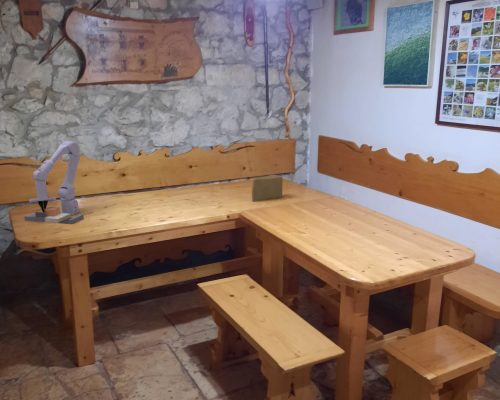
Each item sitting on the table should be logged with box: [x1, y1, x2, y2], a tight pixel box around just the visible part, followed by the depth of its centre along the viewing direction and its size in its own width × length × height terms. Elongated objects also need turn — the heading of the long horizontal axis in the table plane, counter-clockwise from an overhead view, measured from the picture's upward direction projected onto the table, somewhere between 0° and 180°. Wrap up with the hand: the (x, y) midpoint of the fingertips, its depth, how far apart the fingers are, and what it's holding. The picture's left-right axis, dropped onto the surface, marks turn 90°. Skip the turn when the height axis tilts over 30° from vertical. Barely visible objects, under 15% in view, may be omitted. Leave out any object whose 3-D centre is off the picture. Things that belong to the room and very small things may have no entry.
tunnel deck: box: [23, 206, 85, 225], centre depth 294 cm, size 32×11×6 cm, turn 74°
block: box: [45, 206, 61, 216], centre depth 295 cm, size 6×6×4 cm
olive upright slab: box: [251, 174, 284, 202], centre depth 333 cm, size 22×10×15 cm, turn 127°
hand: (44, 213), depth 296 cm, fingers closed
